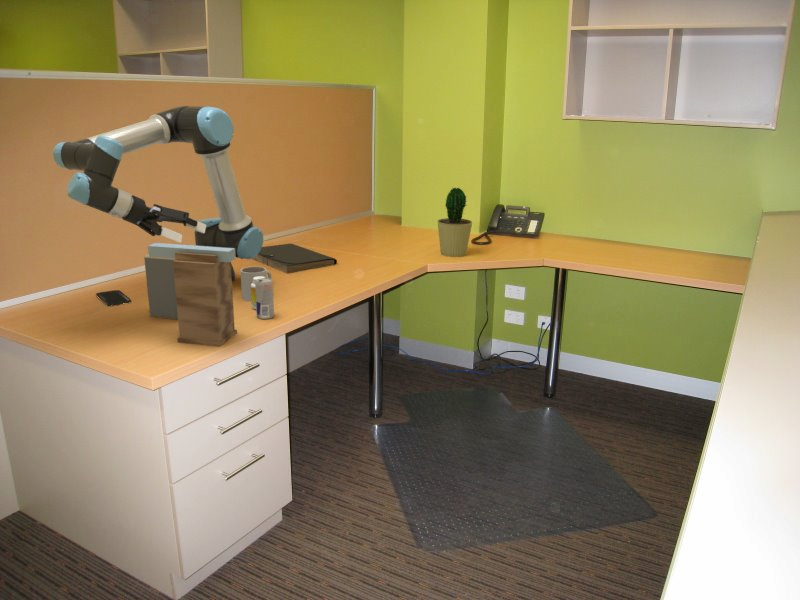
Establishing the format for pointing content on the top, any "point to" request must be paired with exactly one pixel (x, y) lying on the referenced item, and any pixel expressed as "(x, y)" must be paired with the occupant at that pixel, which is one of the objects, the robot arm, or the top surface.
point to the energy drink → (264, 298)
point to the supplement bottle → (254, 291)
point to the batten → (190, 251)
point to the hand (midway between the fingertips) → (192, 234)
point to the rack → (203, 299)
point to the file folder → (292, 258)
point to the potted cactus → (454, 226)
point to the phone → (113, 297)
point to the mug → (251, 279)
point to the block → (161, 287)
